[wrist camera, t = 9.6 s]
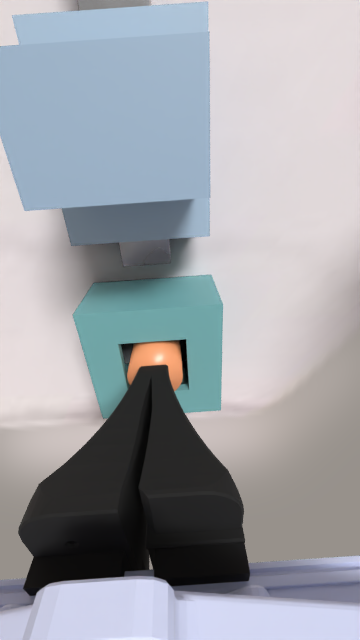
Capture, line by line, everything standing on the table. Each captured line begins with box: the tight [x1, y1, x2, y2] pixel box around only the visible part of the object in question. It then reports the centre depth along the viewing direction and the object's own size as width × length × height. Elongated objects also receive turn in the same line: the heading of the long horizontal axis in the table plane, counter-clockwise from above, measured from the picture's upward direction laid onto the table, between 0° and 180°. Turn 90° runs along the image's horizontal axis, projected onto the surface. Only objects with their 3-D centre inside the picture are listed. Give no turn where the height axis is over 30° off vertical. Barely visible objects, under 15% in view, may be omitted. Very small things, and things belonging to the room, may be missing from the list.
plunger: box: [127, 340, 183, 391], centre depth 15 cm, size 3×3×4 cm
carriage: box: [0, 2, 210, 246], centre depth 9 cm, size 6×7×7 cm
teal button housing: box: [73, 275, 223, 419], centre depth 16 cm, size 7×7×4 cm
